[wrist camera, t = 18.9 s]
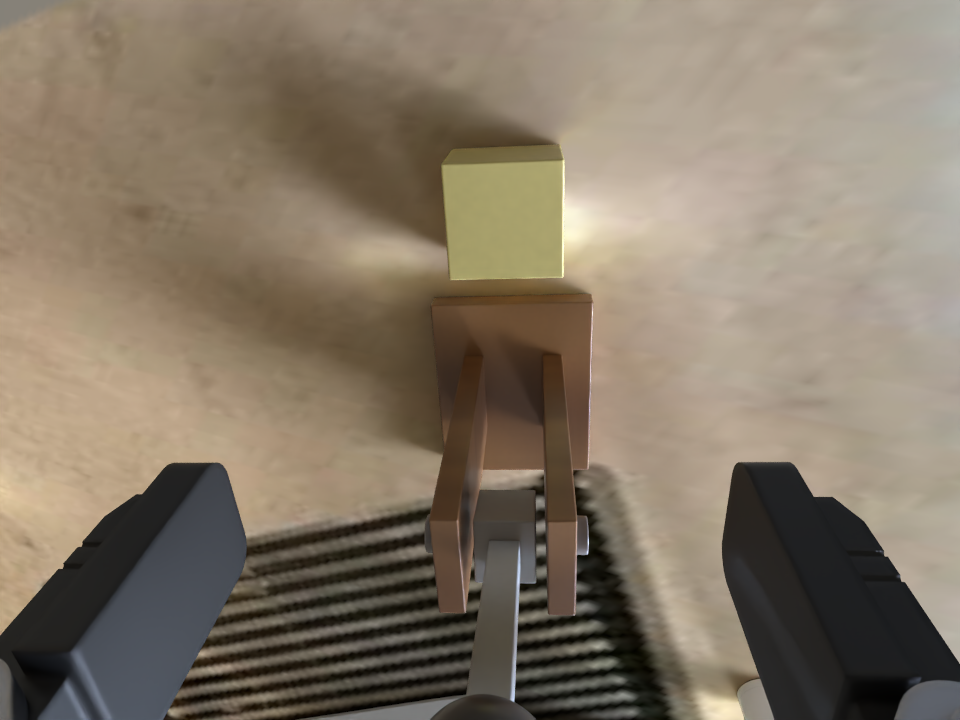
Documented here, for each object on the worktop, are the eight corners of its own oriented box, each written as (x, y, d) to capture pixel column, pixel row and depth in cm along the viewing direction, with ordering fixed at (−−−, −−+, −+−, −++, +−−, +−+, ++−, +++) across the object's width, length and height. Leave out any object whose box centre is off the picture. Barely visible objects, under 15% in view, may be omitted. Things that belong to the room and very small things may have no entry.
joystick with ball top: (385, 776, 12) (395, 918, 12) (563, 783, 11) (564, 928, 12) (466, 479, 25) (469, 554, 26) (547, 480, 25) (548, 555, 26)
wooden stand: (433, 296, 33) (374, 451, 21) (591, 293, 32) (627, 451, 20) (448, 457, 37) (406, 664, 25) (587, 457, 37) (614, 669, 24)
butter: (458, 253, 32) (449, 280, 28) (451, 148, 30) (440, 163, 26) (559, 250, 31) (563, 278, 28) (560, 143, 29) (564, 159, 26)
